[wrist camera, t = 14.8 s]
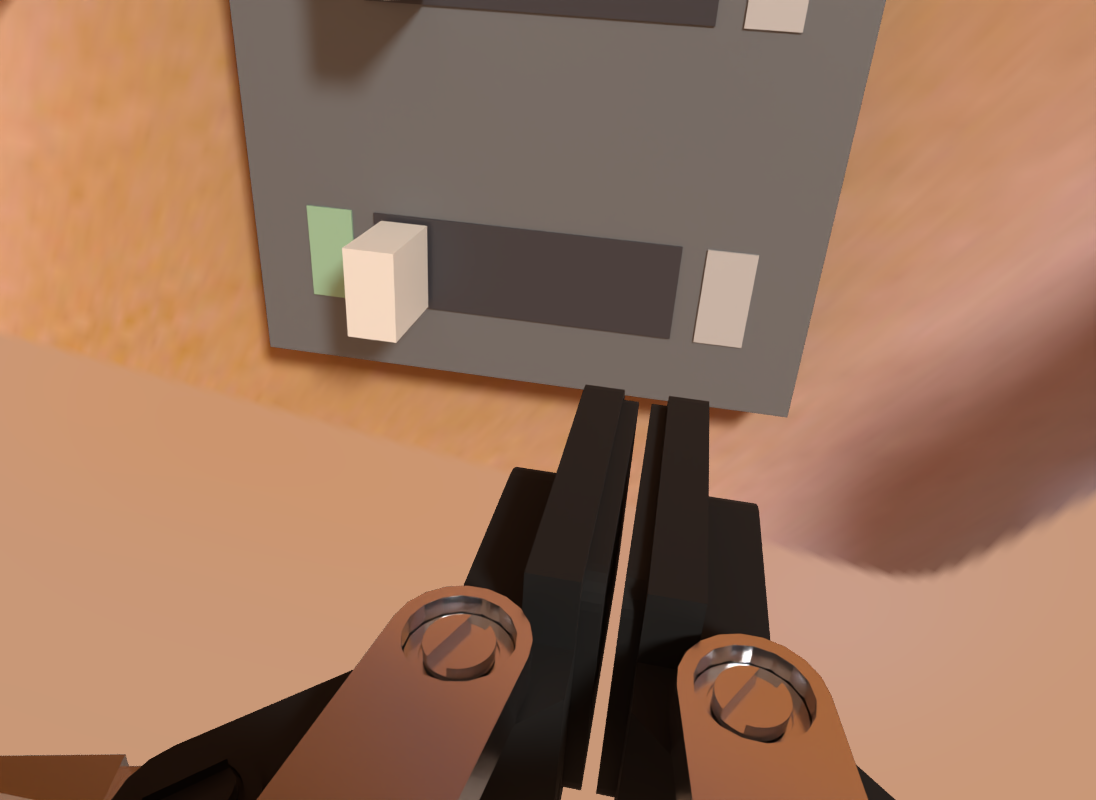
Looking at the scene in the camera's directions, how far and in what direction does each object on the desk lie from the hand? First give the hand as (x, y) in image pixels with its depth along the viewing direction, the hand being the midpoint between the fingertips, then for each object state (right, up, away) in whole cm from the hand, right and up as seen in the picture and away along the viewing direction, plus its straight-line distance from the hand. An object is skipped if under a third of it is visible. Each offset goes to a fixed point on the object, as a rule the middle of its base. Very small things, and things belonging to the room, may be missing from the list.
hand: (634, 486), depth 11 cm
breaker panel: (-1, +13, +22) cm, 26 cm away
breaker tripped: (-7, +7, +23) cm, 25 cm away
